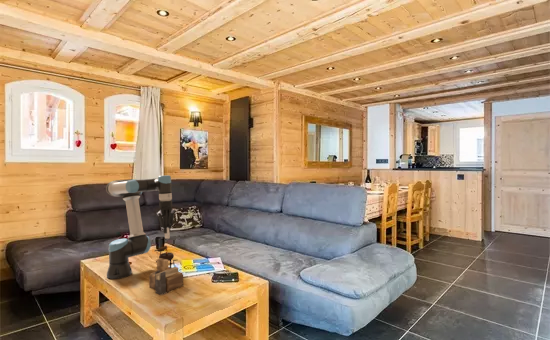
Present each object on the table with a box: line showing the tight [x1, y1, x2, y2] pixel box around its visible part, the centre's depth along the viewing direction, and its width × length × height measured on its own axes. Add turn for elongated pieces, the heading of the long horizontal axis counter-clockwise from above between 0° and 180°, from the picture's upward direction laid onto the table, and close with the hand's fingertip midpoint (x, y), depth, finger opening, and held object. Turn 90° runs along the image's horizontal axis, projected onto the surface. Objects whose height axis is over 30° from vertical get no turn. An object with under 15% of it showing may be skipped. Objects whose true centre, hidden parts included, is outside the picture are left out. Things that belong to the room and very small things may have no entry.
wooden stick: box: [156, 266, 179, 280], centre depth 185 cm, size 3×14×3 cm, turn 149°
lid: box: [149, 257, 184, 281], centre depth 190 cm, size 16×11×9 cm
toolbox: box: [148, 270, 184, 296], centre depth 188 cm, size 16×16×12 cm
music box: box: [153, 245, 177, 269], centre depth 210 cm, size 15×11×20 cm
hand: (167, 238), depth 194 cm, fingers closed
